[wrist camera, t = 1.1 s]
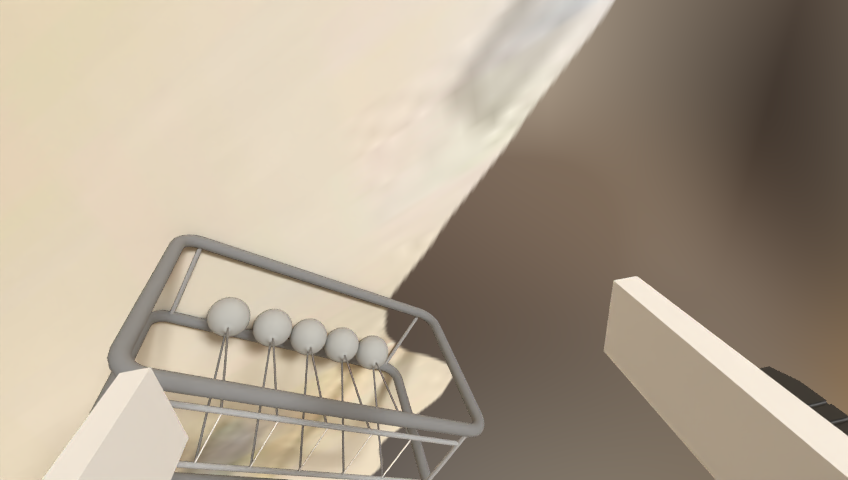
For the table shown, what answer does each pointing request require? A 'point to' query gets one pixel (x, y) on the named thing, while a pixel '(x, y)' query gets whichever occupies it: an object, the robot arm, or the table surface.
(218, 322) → the newton's cradle
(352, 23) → the table surface
